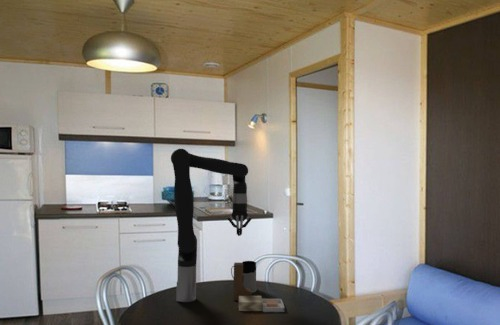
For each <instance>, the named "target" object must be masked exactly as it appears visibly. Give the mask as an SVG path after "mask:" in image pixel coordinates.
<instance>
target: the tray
mask: <svg viewBox="0 0 500 325" xmlns="http://www.w3.org/2000/svg"><path fill="white" fill-rule="evenodd" d="M262 301H263V311H262V312H263V313H285V311H286V310H285V304H284V302H283V299H282V298H262ZM266 301H277V304H278V307H267V306H266Z"/></svg>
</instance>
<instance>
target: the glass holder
mask: <svg viewBox="0 0 500 325" xmlns="http://www.w3.org/2000/svg"><path fill="white" fill-rule="evenodd" d="M241 263H243V285H244V287H245V288H247V289H251V290H252V293H253V294H254V293H255V292H257V262H256V261H254V260H244V261H242V262H241ZM233 269H234V265H233V266H231V268H230V274H231V277H232V279H233V280H234V274H233Z"/></svg>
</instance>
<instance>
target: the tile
mask: <svg viewBox="0 0 500 325" xmlns="http://www.w3.org/2000/svg"><path fill="white" fill-rule="evenodd" d="M266 306H267V307H278V304H277V301H266Z"/></svg>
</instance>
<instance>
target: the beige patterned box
mask: <svg viewBox="0 0 500 325" xmlns="http://www.w3.org/2000/svg"><path fill="white" fill-rule="evenodd" d="M262 299H263V297H262V295H252V296H239V301H238V312H263V301H262Z"/></svg>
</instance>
